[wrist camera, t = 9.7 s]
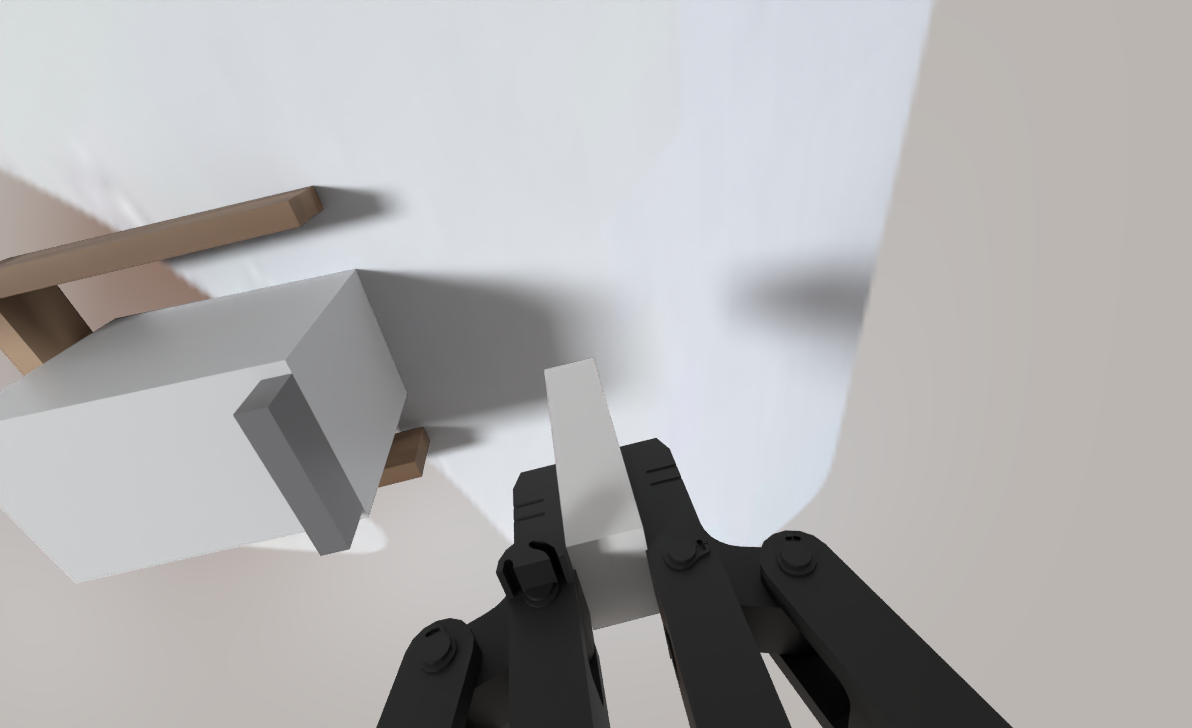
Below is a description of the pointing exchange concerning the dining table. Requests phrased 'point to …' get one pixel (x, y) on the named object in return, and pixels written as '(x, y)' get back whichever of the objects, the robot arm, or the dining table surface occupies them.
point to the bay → (50, 322)
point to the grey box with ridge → (204, 429)
